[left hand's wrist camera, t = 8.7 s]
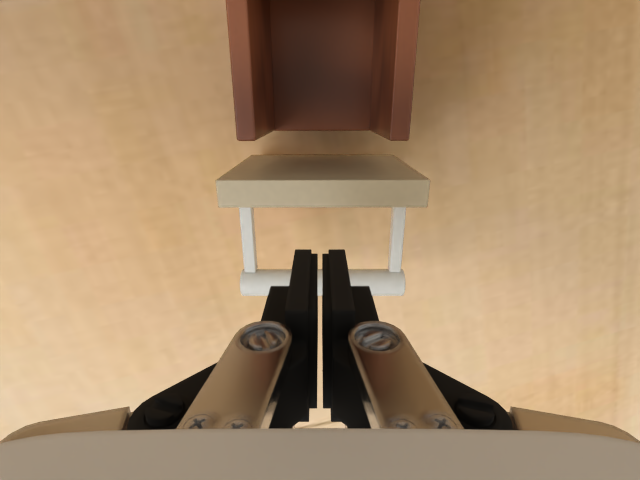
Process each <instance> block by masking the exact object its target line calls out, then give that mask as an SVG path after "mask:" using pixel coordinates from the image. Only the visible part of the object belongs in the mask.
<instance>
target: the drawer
mask: <svg viewBox="0 0 640 480" xmlns="http://www.w3.org/2000/svg"><path fill="white" fill-rule="evenodd" d="M226 9H227V22H228V34H229V47H230V59H231V72H232V84H233V97H234V109H235V122H236V134H237V140H239V141H255V140H257V139H259V138H261V137H263V136H264V135H266V134H268V133H270V132H272V131H312V130H370V131H372V132H374V133H376V134H379V135H381V136H383V137H385V138H387V139H389V140H391V141H407V140H409V133H410V121H411V108H412V96H413V84H414V72H415V59H416V47H417V35H418V23H419V11H420V0H226ZM429 187H430V180H429V179H428V178H426V177H425V176H423V175H422V174H420V173H419V172H417V171H416V170H414V169H413V168H412V167H410V166H409V165H407V164H406V163H404V162H403V161H401V160H400V159H398V158H397V157H395V156H394V155H251V156H250V157H248V158H247V159H245V160H244V161H243V162H241V163H240V164H238V165H237V166H235V167H234V168H233V169H231V170H230V171H228V172H227V173H226V174H224V175H223V176H221V177H220V178H218V179H217V180H216V189H217V198H218V207H220V208H239V212H240V224H241V236H242V248H243V260H244V269H243V270H242V272H241V276H240V291H241V294H242V295H243V296H268V294H269V290H270V287H271V286H289V283H290V277H291V272H292V269H257V255H256V240H255V226H254V211H253V208H254V207H392V215H391V229H390V243H389V257H388V269H348V272H349V277H350V283H351V286H369V287H370V290H371V294H372V296H402V295H404V292H405V275H404V271H403V270H402V269H401V262H402V250H403V238H404V227H405V215H406V207H427V206H428V196H429ZM318 296H322V269H318Z"/></svg>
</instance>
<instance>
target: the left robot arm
mask: <svg viewBox="0 0 640 480" xmlns="http://www.w3.org/2000/svg"><path fill="white" fill-rule="evenodd" d="M317 345H318V263H317V254H311V250H295V255H294V260H293V266H292V272H291V277H290V283H289V286H271V287H270V290H269V294H268V297H267V301H266V305H265V308H264V312H263V315H262V319H261V321H260V322H254V323H251V324H249V325H246V326H245V327H243V328H241V329H240V330H239V331H238V332H237V333H236V334H235V336H234V337H233V339H232V341H231V342H230V344H229V345H228V347H227V349H226V350H225V352H224V353H223V355H222V357H221V358H220V360H219V361H218V362H217V363H215V364H213V365H212V366H210V367H208V368H206V369H204V370H202V371H200V372H198V373H196V374H194V375H193V376H191V377H189V378H187V379H185V380H183V381H181V382H179V383H177V384H175V385H173V386H172V387H170V388H168V389H166V390H164V391H162V392H160V393H158V394H156V395H154V396H152V397H151V398H149V399H148V400H146V401H145V402H143V403H142V404H141V405H140V406H139V407H138V408H137V409H136V410H135V411H134V412H130V408H129V407H124V408H118V409H112V410H106V411H100V412H95V413H89V414H83V415H77V416H71V417H66V418H60V419H54V420H48V421H42V422H38V423H34V424H31V425H27V426H25V427H23V428H21V429H19V430H17V431H15V432H13V433H11V434H10V435H8V436H7V437H6V438H4V439H3V440H1V441H0V480H640V441H639V440H637V439H636V438H634V437H633V436H632V435H630V434H629V433H627V432H625V431H623V430H621V429H619V428H617V427H615V426H613V425H609V424H606V423H602V422H597V421H592V420H586V419H580V418H574V417H569V416H563V415H557V414H551V413H545V412H540V411H534V410H528V409H522V408H516V407H511V408H510V412H506V411H505V410H504V409H503V408H502V407H501V406H500V405H499V404H498V403H497V402H495V401H494V400H492V399H491V398H489V397H488V396H486V395H484V394H482V393H480V392H478V391H476V390H474V389H472V388H470V387H468V386H467V385H465V384H463V383H461V382H459V381H457V380H455V379H453V378H451V377H449V376H447V375H446V374H444V373H442V372H440V371H438V370H436V369H434V368H432V367H430V366H428V365H427V364H425V363H423V362H422V361H421V360H420V358H419V357H418V355H417V353H416V352H415V350H414V349H413V347H412V345H411V344H410V342H409V341H408V339H407V337H406V336H405V334H404V333H403V332H402V331H401V330H400V329H399V328H397V327H395V326H394V325H391V324H389V323H386V322H380V321H379V319H378V315H377V312H376V308H375V305H374V301H373V297H372V294H371V290H370V287H369V286H351V283H350V277H349V272H348V266H347V260H346V255H345V250H329V254H323V263H322V345H323V408H331V422H342V423H344V424H345V428H295V424H296V423H298V422H309V408H317Z"/></svg>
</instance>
